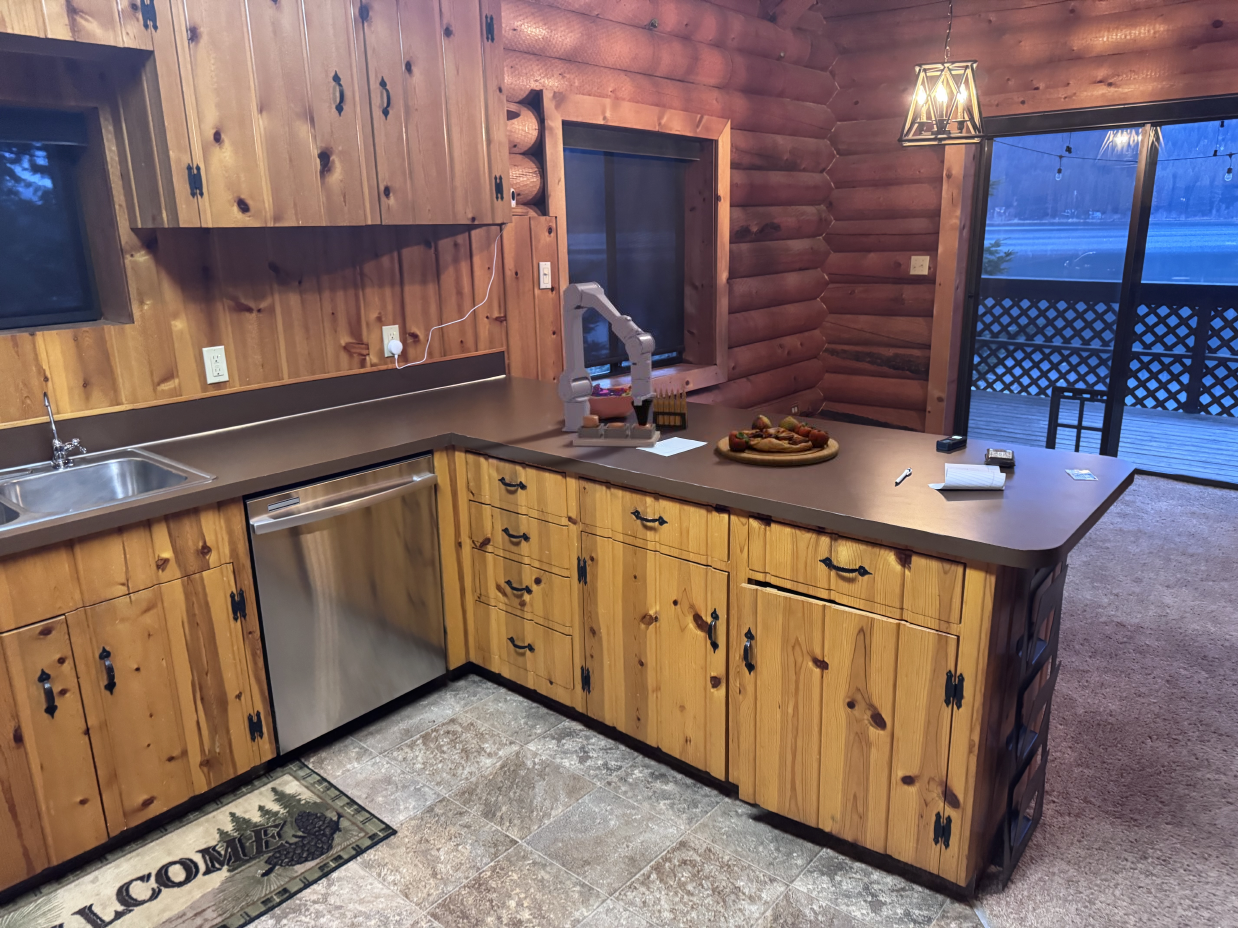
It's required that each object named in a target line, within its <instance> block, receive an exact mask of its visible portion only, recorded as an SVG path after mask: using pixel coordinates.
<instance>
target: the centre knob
mask: <svg viewBox="0 0 1238 928" xmlns="http://www.w3.org/2000/svg"><path fill="white" fill-rule="evenodd" d="M624 424H625V423H623V422H611V423H610V424H609V428H624Z"/></svg>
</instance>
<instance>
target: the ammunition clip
mask: <svg viewBox="0 0 1238 928" xmlns="http://www.w3.org/2000/svg"><path fill="white" fill-rule="evenodd" d="M653 390H654V391H653V393H656V396H653V402H652V424H655V429H668V430H669V429H671V430H688V428H689V422H688V421H689V420H688V407H687V406H688V403H687V395H686V390H685V388H683V389H682V393H680V389H679V388H677V390H676V395H675V392H674V389H673V388H672V389H670V394H669V391H668V390H669V389H668V388H666V389H665V390H664V391H665V392H664V391H663V389H662V388H660V389H659V393H658V390H657V388H654V389H653ZM669 395H670V396H669Z"/></svg>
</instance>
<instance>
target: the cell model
mask: <svg viewBox="0 0 1238 928" xmlns="http://www.w3.org/2000/svg"><path fill="white" fill-rule="evenodd" d="M631 393H632V390H631V388H626V387H605V388H603V387H601V384H600V382H598V383H596V384H593V392H592V394H591V395H590V399H588V402H589V404H590V415H597V416H598V419H601V420H606V419H607V420H608V419H611V418H624V417H627V416H628V415H631V413H632V412H633V411H634V408H633V407H632V405H631V402H632V401H633V400H634V399H633V398H632V397H631Z"/></svg>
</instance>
